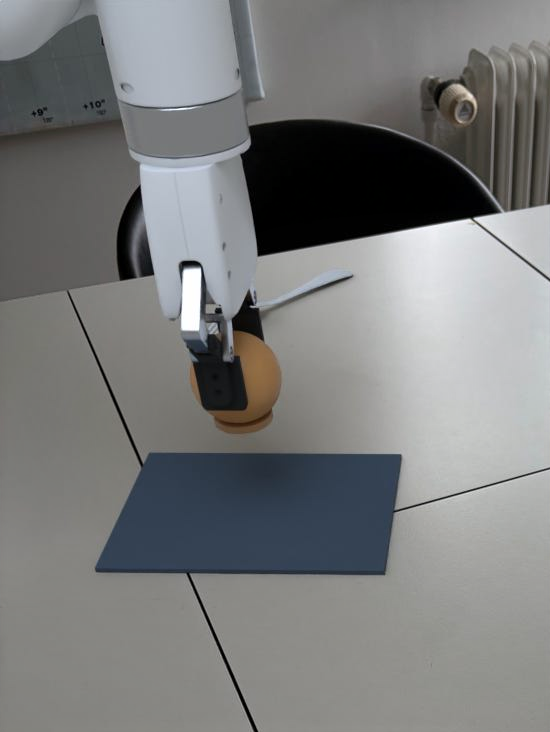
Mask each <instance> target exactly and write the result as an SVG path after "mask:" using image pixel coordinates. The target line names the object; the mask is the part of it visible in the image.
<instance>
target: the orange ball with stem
mask: <svg viewBox="0 0 550 732" xmlns="http://www.w3.org/2000/svg"><path fill="white" fill-rule="evenodd" d="M232 332H233V346H234V355H240V361H241V366H242V371H243V377H244V382H245V387H246V393H247V398H248V406H247V408H246V410H244V411H207V410H205V411H206V412H207V413H208V414H209V415H211V416H212V418H213V422H214V425H215V427H216V428H217V429H218V430H219V431H221V432H223V433H226V434H229V435H247V434H248V435H249V434H252V433H256V432H259V431H261V430H264V429H265V428H266V427H268V426H270V424H271V423H272V421H273V419H274V410H273V407H274V405H275V404H276V402H277V401H278V398H279V396H280V394H281V389H282V386H283V385H282V383H283V377H282V369H281V365H280V362H279V360H278V358H277V356H276V354H275V352H274V351H273V350H272V349H271V347H270V346H269V345H268V344H267V343H266V341H265V342H263V341H262V340H261V339H259V338H258V337H256V336H254V335H252V334H249V333H246V332H242V331H233V328H232ZM214 334H215V333H214ZM215 335H216V336H217V338H218V339H219V340H220V341H221V333H217V334H215ZM189 383H190V387H191V390H192V391H191V392H192V393H193V395H194V398H195V399H196V401H197V402H198V404H199V405H200V406H201V407H202V403H201V399H200V394H199V390H198V385H197V381H196V376H195V372H194V367H193V363H192V362H191V361H190V365H189Z"/></svg>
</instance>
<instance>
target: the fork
mask: <svg viewBox="0 0 550 732" xmlns="http://www.w3.org/2000/svg"><path fill="white" fill-rule="evenodd" d="M353 275H354V274H353V272H351V271H350V270H346V269H343V268H334V269H331V270H326V271H325V272H323V273H320V274H319V275H317V276H315V277H313V278H311V280H309V281H306V282H305V283H304V284H301V285H300V286H298V287H297V288H295V289H293V290H291V291H289V292H288V293H285V294H283V295H281V296H279V297H276V298H275V299H272V300H269V301H259V300H257V305H256V306H250V307H251V308H260V307H262V308H263V307H267V306H274V305H278V304H281V303H284V302H285V301H288V300H291V299H294V297H297V296H299V295H302V294H304V293H307V292H309V291H312V290H314V289H316V288H319V287H322V286H324V285H328V284H330V283H333V282H336V281H339V280H341V279H345V278H348V277H352V276H353ZM207 329H208V330H209V334H217V333H219V331H218V326H217V323H210V325H209V327H207ZM210 331H211V332H210Z"/></svg>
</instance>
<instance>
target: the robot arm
mask: <svg viewBox="0 0 550 732" xmlns="http://www.w3.org/2000/svg"><path fill="white" fill-rule="evenodd" d="M93 15H95V16H96V17H97V19H98V23H99V27H100V31H101V36H102V40H103V41H102V42H103V45H104V49H105V53H106V58H107V61H108V66H109V70H110V75H111V78H112V84H113V89H114V92H115V96H116V100H117V104H118V108H119V114H120V118H121V122H122V126H123V131H124V135H125V140H126V143H127V148H128V153H129V156H130V157H131V159H133V160H134V161H136V162H138V163H139V180H140V181H139V182H140V194H141V199H142V201H141V203H142V209H143V217H144V224H145V231H146V235H147V241H148V247H149V251H150V252H149V253H150V258H151V264H152V269H153V273H154V274H153V275H154V279H155V285H156V290H157V297H158V300H159V306H160V309H161V314H162V315H163V317H164V318H165V319H166V320H167V321H169V322H174V321H176V320H177V319H179V317H180V336H181V339H182V341H183V342H184V343H185V346H186V348H187V349H188V351H189V360H190V363H191V362H192V363H193V367H194V372H195V376H196V381H197V385H198V390H199V394H200V399H201V403H202V406H201V407H202V408H203V409H204V411H206V410H207V411H244V410H246V408H247V406H248V398H247V393H246V387H245V382H244V377H243V371H242V366H241V361H240V355H234V346H233V332H232V328H233V331H242V332H246V333H249V334H252V335H254V336H256V337H258V338H259V339H261V340H262V341H263V342H265V343H266V341H265V335H264V329H263V323H262V318H261V312H260V307H256V308H251V307H250V306H256V305H257V301H258V294H257V290H256V287H255V283H254V277H255V275H256V271H257V268H258V261H259V260H258V259H259V258H258V257H259V256H258V245H257V238H256V237H257V236H256V231H255V230H256V229H255V224H254V218H253V212H252V206H251V201H250V195H249V190H248V185H247V180H246V175H245V171H244V166H243V159H242V157H241V154H244V153H245V152H246V151H248V150H249V149H250V146H251V145H252V140H251V134H250V126H249V120H248V114H247V108H246V102H245V101H246V100H245V95H244V88H243V82H242V76H241V69H240V63H239V57H238V51H237V44H236V38H235V31H234V26H233V25H234V24H233V19H232V12H231V6H230V0H0V61H4V62H5V61H15V60H17V59H22V58H24V57H27V56H29V55H31V54H32V53H34V52H36V51H37V50H39V49H40V48H42V46H43V45H45V44H46V43H47V42H48V41H49V40H51V38H52V37H54V36H55V35H56V34H57V33H59V31H60V30H62V29H63V28H65V27H67V26H70V25H71V24H73V23H75V22H77V21H80V20H81V19H82V18H84V17H87V16H93ZM207 305H216V306H219V307H215V309H214V313H213V312H212V313H211V312H210V313H208V312H207ZM206 312H207V313H206ZM212 323H216V325H217V326H218V328H217V330H218V331H219V333H221V341H220V340H219V339H218V338H217V336H216V335H215V333H213V334H210V331H209V330H208V326H207V324H212ZM207 411H206V412H207Z"/></svg>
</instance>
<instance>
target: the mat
mask: <svg viewBox="0 0 550 732" xmlns="http://www.w3.org/2000/svg"><path fill="white" fill-rule="evenodd" d="M402 459H403V455H402V453H307V452H306V453H302V452H301V453H297V452H296V453H292V452H290V453H289V452H288V453H286V452H285V453H284V452H282V453H281V452H280V453H279V452H151V451H150V452H148V454H147V456H146V458H145V460H144V463H143V465H142V467H141V469H140V471H139V473H138V475H137V477H136V479H135V481H134V484H133V486H132V488H131V490H130V492H129V494H128V497H127V498H126V501H125V503H124V505H123V507H122V509H121V511H120V513H119V515H118V518H117V519H116V522H115V524H114V526H113V528H112V530H111V533H110V534H109V536H108V538H107V541H106V543H105V545H104V547H103V549H102V552H101V554H100V556H99V558H98V560H97V562H96V564H95V566H94V571H95V572H96V573H162V574H163V573H164V574H165V573H167V574H169V573H171V574H172V573H173V574H174V573H176V574H177V573H179V574H181V573H183V574H273V575H274V574H279V575H280V574H282V575H283V574H284V575H286V574H287V575H289V574H291V575H293V574H294V575H306V574H307V575H383V576H384V575H386V569H387V562H388V555H389V549H390V540H391V534H392V526H393V520H394V515H395V506H396V500H397V494H398V493H397V492H398V486H399V478H400V472H401V465H402Z"/></svg>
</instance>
